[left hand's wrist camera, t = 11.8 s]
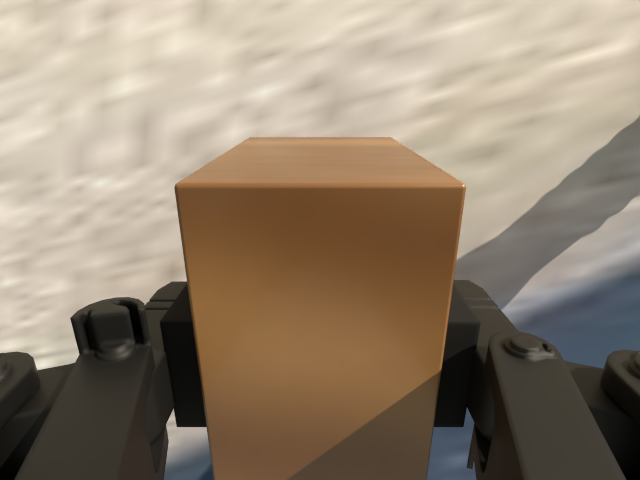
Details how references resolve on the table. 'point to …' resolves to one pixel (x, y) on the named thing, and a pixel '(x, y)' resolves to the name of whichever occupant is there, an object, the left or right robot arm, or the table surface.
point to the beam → (320, 305)
